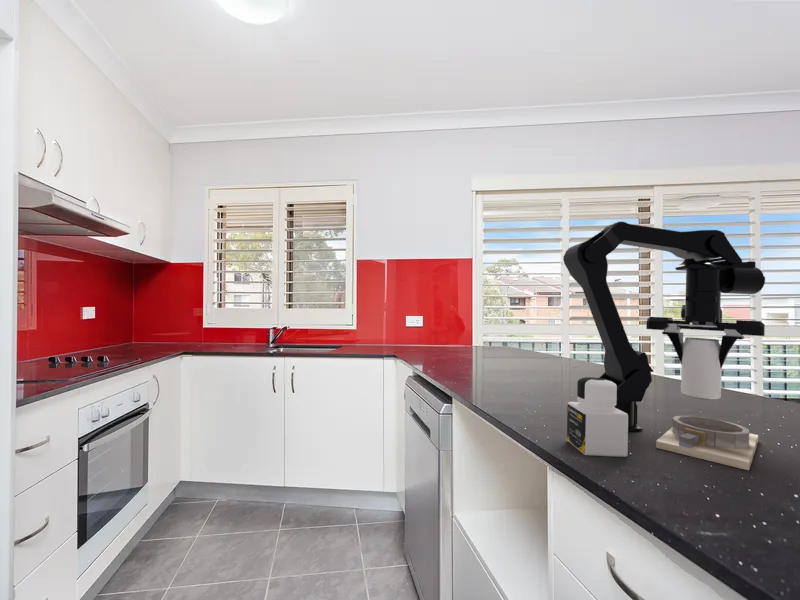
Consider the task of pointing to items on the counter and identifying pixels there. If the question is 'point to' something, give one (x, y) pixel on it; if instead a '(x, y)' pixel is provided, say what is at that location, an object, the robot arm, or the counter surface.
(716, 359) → the can
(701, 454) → the board
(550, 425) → the counter surface
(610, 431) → the medicine bottle
